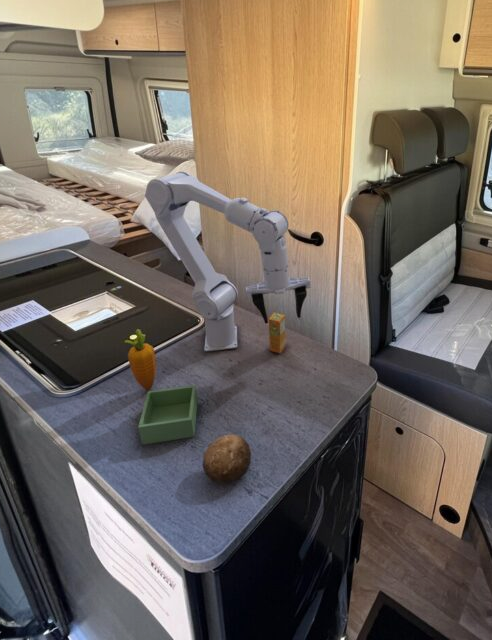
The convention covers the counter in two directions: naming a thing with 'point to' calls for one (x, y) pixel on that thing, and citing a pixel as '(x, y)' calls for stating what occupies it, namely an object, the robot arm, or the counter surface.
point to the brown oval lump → (227, 459)
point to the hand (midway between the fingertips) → (282, 318)
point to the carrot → (142, 361)
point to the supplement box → (277, 332)
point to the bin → (168, 415)
